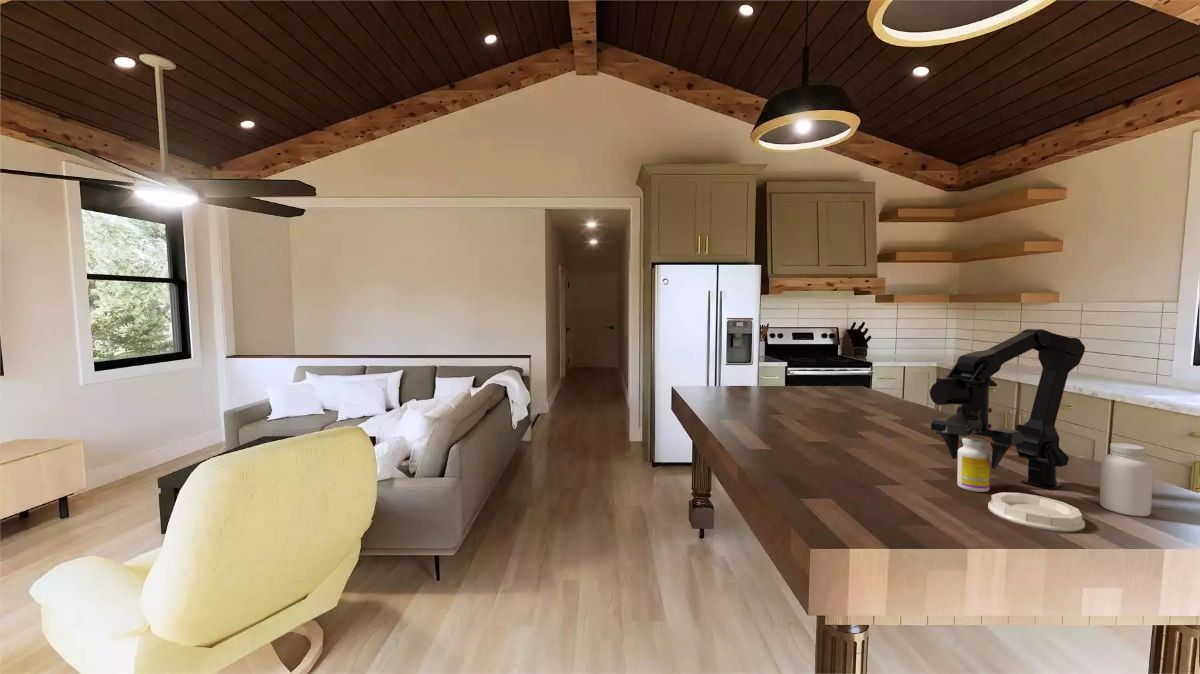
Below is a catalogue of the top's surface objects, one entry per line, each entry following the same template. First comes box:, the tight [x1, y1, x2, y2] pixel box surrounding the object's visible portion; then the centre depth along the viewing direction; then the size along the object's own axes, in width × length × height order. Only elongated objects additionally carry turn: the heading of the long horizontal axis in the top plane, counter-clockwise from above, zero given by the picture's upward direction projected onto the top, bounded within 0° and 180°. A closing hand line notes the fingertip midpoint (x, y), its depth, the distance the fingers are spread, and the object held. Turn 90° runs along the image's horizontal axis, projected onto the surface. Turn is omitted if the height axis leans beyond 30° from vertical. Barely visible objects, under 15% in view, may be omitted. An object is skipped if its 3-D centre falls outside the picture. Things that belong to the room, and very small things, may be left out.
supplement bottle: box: [956, 436, 991, 493], centre depth 124 cm, size 7×7×13 cm
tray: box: [987, 491, 1086, 533], centre depth 107 cm, size 16×16×3 cm
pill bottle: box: [1099, 442, 1154, 517], centre depth 109 cm, size 8×8×15 cm
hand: (973, 463), depth 124 cm, fingers open, 9 cm apart
